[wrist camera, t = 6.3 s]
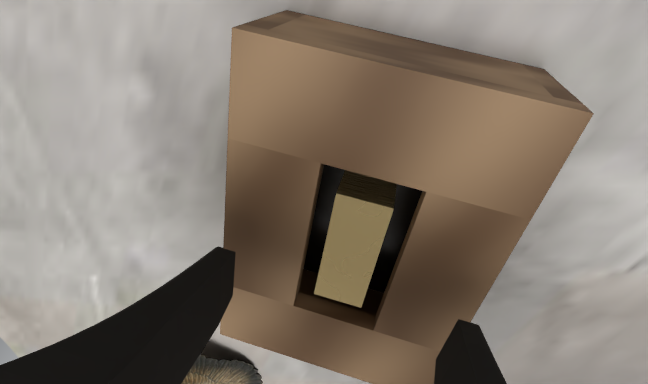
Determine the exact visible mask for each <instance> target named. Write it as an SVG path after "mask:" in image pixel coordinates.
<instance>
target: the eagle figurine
mask: <svg viewBox="0 0 648 384" xmlns="http://www.w3.org/2000/svg"><path fill="white" fill-rule="evenodd" d="M253 368H254V367H253V365H251V364H248V363H245V362H243V361H237V360H232V361H229V360H225V359H222V360H219V361H218V360H217V359H212V358H205V356H204V355H201V354H200V355H199V357H198V358H197V360H196V361H195V363H194V365H193V366H192V368H191V369H190V371H189V372H188V374H187V376H186V377H185V379H184V380H183V382H182V383H181V384H262V383H263V382H262V381H261V380H260V379H261V376H260V375H259V374H256V373H257V372H258V371H257V369H253Z"/></svg>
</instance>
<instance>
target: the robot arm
mask: <svg viewBox="0 0 648 384" xmlns="http://www.w3.org/2000/svg"><path fill="white" fill-rule="evenodd" d="M235 254H236V252H234V251H231V250H228V249H224V248H221V247H216V248H215V249H213V250H212V251H211V252H209V253H208V254H207V255H205V256H204V257H202V258H201V259H200V260H198V261H197V262H196V263H194V264H193V265H192V266H190V267H189V268H187V269H186V270H185V271H183V272H182V273H180V274H179V275H177V276H176V277H174V278H173V279H172V280H170V281H169V282H167V283H166V284H164V285H163V286H161V287H160V288H158V289H157V290H155V291H153V292H152V293H150V294H149V295H147V296H145V297H144V298H142V299H140V300H139V301H137V302H136V303H134V304H132V305H131V306H129V307H127V308H125V309H124V310H122V311H120V312H118V313H116V314H115V315H113V316H111V317H109V318H107V319H105V320H103V321H101V322H100V323H98V324H96V325H94V326H91V327H89V328H87V329H85V330H83V331H81V332H79V333H77V334H75V335H73V336H71V337H68V338H66V339H64V340H62V341H60V342H57V343H55V344H53V345H50V346H48V347H45V348H43V349H40V350H38V351H35V352H33V353H30V354H28V355H25V356H23V357H20V358H18V359H15V360H13V361H10V362H7V363H5V364H2V365H0V384H181V383H182V382H183V380H184V379H185V377H186V376H187V374H188V372H189V371H190V369H191V368H192V366H193V365H194V363H195V361H196V360H197V358H198V357H199V355H200V354H201V352H202V350H203V349H204V347H205V346H206V344H207V343H208V341H209V339H210V338H211V336H212V335H213V333H214V331H215V330H216V328H217V327H218V325H219V323H220V321H221V319H222V317H223V315H224V313H225V311H226V309H227V307H228V305H229V303H230V300H231V298H232V296H233V286H234V270H235ZM434 384H507V383H506V381H505V379H504V377H503V375H502V373H501V371H500V369H499V367H498V365H497V363H496V361H495V359H494V357H493V354H492V352H491V350H490V348H489V346H488V344H487V341H486V339H485V337H484V335H483V333H482V331H481V329H480V327H479V325H477V324H473V323H470V322H467V321H463V320H460V319H458V321H457V322H456V324H455V326H454V328H453V329H452V331H451V333H450V335H449V337H448V338H447V340H446V342H445V344H444V345H443V347H442V349H441V351H440V353H439V354H438V356H437V358H436V364H435V377H434Z"/></svg>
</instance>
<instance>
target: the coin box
mask: <svg viewBox="0 0 648 384" xmlns="http://www.w3.org/2000/svg"><path fill="white" fill-rule="evenodd" d="M593 114H594V113H592V112H591V111H590V110H589V109H588V108H587V107H586V106H585V105H584V104H582V103H581V102H580V101H579V100H578V99H577V98H576V97H575V96H573V95H572V94H571V93H570V92H569V91H568V90H567V89H566V88H564V87H563V86H562V85H561V84H560V83H559V82H558V81H557V80H556V79H554V78H553V77H552V76H551V75H550V74H549V73H548V72H547V71H545V70H544V69H541V68H537V67H532V66H528V65H524V64H519V63H515V62H510V61H506V60H502V59H497V58H493V57H489V56H484V55H480V54H476V53H471V52H467V51H462V50H458V49H454V48H449V47H445V46H441V45H436V44H432V43H427V42H423V41H419V40H414V39H410V38H406V37H401V36H397V35H392V34H388V33H384V32H379V31H375V30H371V29H366V28H362V27H358V26H353V25H349V24H344V23H340V22H336V21H331V20H327V19H323V18H318V17H314V16H309V15H305V14H301V13H296V12H292V11H288V10H286V11H282V12H279V13H276V14H273V15H270V16H267V17H264V18H261V19H258V20H254V21H251V22H248V23H245V24H242V25H239V26H236V27H233V28H232V43H231V69H230V95H229V120H228V146H227V171H226V197H225V222H224V249H228V250H231V251H234V252H236V254H235V270H234V286H233V296H232V298H231V300H230V303H229V305H228V307H227V309H226V311H225V313H224V315H223V317H222V319H221V325H220V334H222V335H225V336H228V337H231V338H234V339H237V340H240V341H243V342H246V343H249V344H252V345H255V346H258V347H262V348H265V349H268V350H271V351H274V352H277V353H280V354H283V355H286V356H289V357H292V358H295V359H298V360H301V361H304V362H308V363H311V364H314V365H317V366H320V367H323V368H326V369H329V370H332V371H335V372H338V373H341V374H344V375H347V376H350V377H354V378H357V379H360V380H363V381H366V382H369V383H372V384H434V377H435V364H436V358H437V356H438V354H439V353H440V351H441V349H442V347H443V345H444V344H445V342H446V340H447V338H448V337H449V335H450V333H451V331H452V329H453V328H454V326H455V324H456V322H457V321H458V319H460V320H463V321H467V322H471V320H472V318H473V317H474V315H475V313H476V312H477V310H478V308H479V307H480V305H481V303H482V302H483V300H484V298H485V296H486V295H487V293H488V291H489V290H490V288H491V286H492V285H493V283H494V281H495V280H496V278H497V276H498V274H499V273H500V271H501V269H502V268H503V266H504V264H505V263H506V261H507V259H508V258H509V256H510V254H511V252H512V251H513V249H514V247H515V246H516V244H517V242H518V241H519V239H520V237H521V236H522V234H523V232H524V230H525V229H526V227H527V225H528V224H529V222H530V220H531V219H532V217H533V215H534V213H535V212H536V210H537V208H538V207H539V205H540V203H541V202H542V200H543V198H544V197H545V195H546V193H547V191H548V190H549V188H550V186H551V185H552V183H553V181H554V180H555V178H556V176H557V175H558V173H559V171H560V169H561V168H562V166H563V164H564V163H565V161H566V159H567V158H568V156H569V154H570V153H571V151H572V149H573V147H574V146H575V144H576V142H577V141H578V139H579V137H580V136H581V134H582V132H583V131H584V129H585V127H586V125H587V124H588V122H589V120H590V119H591V117H592V115H593ZM324 164H325V165H329V166H333V167H336V168H340V169H344V170H347V171H351V172H355V173H359V174H362V175H366V176H370V177H373V178H377V179H381V180H385V181H388V182H392V183H396V184H399V185H403V186H407V187H411V188H414V189H418V190H422V194H421V196H420V199H419V202H418V204H417V207H416V210H415V212H414V215H413V218H412V220H411V223H410V226H409V228H408V231H407V234H406V236H405V239H404V242H403V244H402V247H401V250H400V252H399V255H398V258H397V260H396V263H395V265H394V268H393V271H392V273H391V276H390V279H389V281H388V284H387V287H386V289H385V292H384V293H382V292H379V291H375V290H372V289H369V288H368V289H367V292H366V295H365V298H364V301H363V304H362V307H361V308H360V307H357V306H353V305H350V304H347V303H343V302H340V301H336V300H333V299H330V298H326V297H323V296H319V295H316V294H314V291H315V287H316V282H317V278H318V273H315V272H312V271H309V270H305V269H303V268H304V263H305V258H306V253H307V248H308V243H309V238H310V233H311V227H312V222H313V217H314V212H315V207H316V202H317V197H318V192H319V187H320V182H321V177H322V172H323V167H324Z"/></svg>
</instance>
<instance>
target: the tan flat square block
mask: <svg viewBox="0 0 648 384" xmlns="http://www.w3.org/2000/svg"><path fill="white" fill-rule="evenodd" d="M396 187H397V184H396V183H392V182H388V181H385V180H381V179H377V178H373V177H370V176H366V175H362V174H359V173H355V172H351V171H347V170H345V172H344V174H343V177H342V180H341V182H340V185H339V187H338V190H337V193H336V197H335V201H334V206H333V210H332V215H331V219H330V224H329V228H328V233H327V237H326V242H325V246H324V251H323V255H322V260H321V264H320V269H319V273H318V278H317V282H316V287H315V291H314V294H316V295H319V296H323V297H326V298H330V299H333V300H336V301H340V302H343V303H347V304H350V305H353V306H357V307H360V308H361V307H362V304H363V301H364V298H365V295H366V292H367V289H368V286H369V283H370V280H371V277H372V274H373V271H374V268H375V265H376V262H377V258H378V255H379V252H380V249H381V246H382V243H383V240H384V237H385V234H386V231H387V228H388V225H389V222H390V219H391V216H392V213H393V210H394V204H395V195H396Z"/></svg>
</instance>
